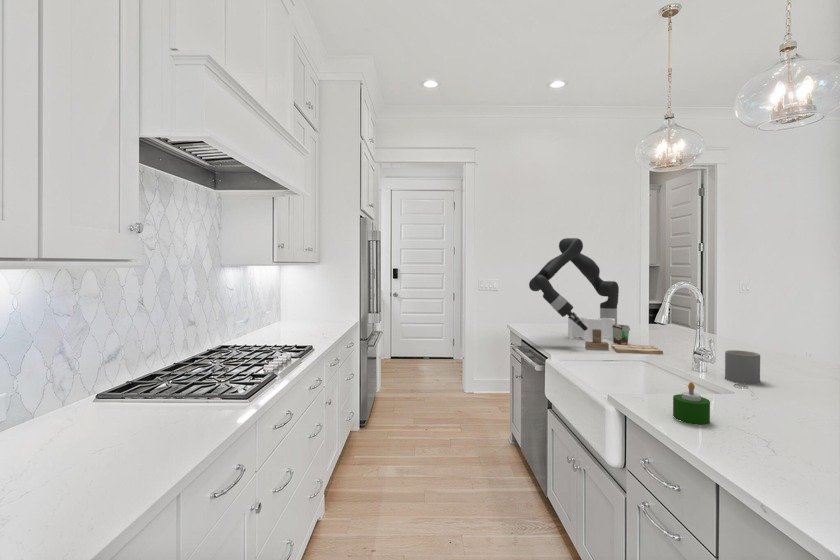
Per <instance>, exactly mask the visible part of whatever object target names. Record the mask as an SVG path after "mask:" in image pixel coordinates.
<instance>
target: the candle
mask: <svg viewBox="0 0 840 560" xmlns="http://www.w3.org/2000/svg"><path fill="white" fill-rule="evenodd" d="M687 387H688V391H682V392H681V393H680V394H673V397H672V417H673V416H674V417H675V418H676V419H678V420H681V421H683V422H682V423H684V422H686V423H685V424H689V423H690V424H689V425H695V424H697V425H698V426H702V425H703V426H705V424H706V425H709V424H710V423H711V400H709V399H708V398H706V397H703V396H702V395H701V394H700V393H696V392H695V384H694V383H693V382H692V381H690V382H689V383H688V385H687ZM674 417H673V418H674ZM675 418H674V419H675ZM676 419H675V420H676ZM678 420H677V421H678ZM681 421H680V422H681ZM697 425H696V426H697Z"/></svg>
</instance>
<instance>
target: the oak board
mask: <svg viewBox="0 0 840 560" xmlns="http://www.w3.org/2000/svg"><path fill="white" fill-rule="evenodd" d="M610 347H611V348H612V349H613V351H615V352H616V353H620V354H641V355H643V354H645V355H664V351H663V350H662V349H660V348H658V347H657V346H655V345H639V344H638V345H637V344H634V345H633V344H628V345H618V344H614V343H613V344H610Z"/></svg>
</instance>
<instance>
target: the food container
mask: <svg viewBox="0 0 840 560" xmlns="http://www.w3.org/2000/svg"><path fill="white" fill-rule="evenodd" d="M612 328H613V341H612V342H613V344H614V345H629V331H631V328H630V326H629V325H627V324H618V323H617V324H613V326H612Z"/></svg>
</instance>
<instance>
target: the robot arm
mask: <svg viewBox="0 0 840 560" xmlns="http://www.w3.org/2000/svg"><path fill="white" fill-rule="evenodd" d="M558 248H559V251H560V253H561V254H559V255H557V256H556V257H554V258H552V259H550V260H549V261H548V262H546V264H544V266H543V267H542V268H541V269H540V271H538V273H537V274H536V275H534V277H532V278H531V279H530V281H529V283H528V285H529V286H528V287H529V289H530V291H533V292H539V291H541V293H543V294H542V298H543V299H544V300H545V301H546V302H547V303H548V304H549V305H550V306H551V308H552V309H554V310H555V312H557V313H558V314H559V315H560V317H562V318H564V317H566V316H568V317H567V319H568V318H569V319H570V320H572V321H573V322H574V323H576V324H577V325H578V326H580V327H581V328H582V329H583V330H584V331H586V330H587V329H588V328H587V327H586V326H585V325H584V324H583V323H582V321H580V318H581V317H579V316H578V315H577V314H576V313H575V312H572V310H573V309H574V306H573V305H572V304H571V303H570V302H569V301H568V300H567V299H566V298H565V297H564V296H562V295H561V294H560V293H559V292H558V291H557V290H556V289H555V288H554V287H553V285H552V284H551V281H550V280H552V278H553V277H555V276H556V275H557V273H558V272H559V271H560V270H561V269H562V268H563V267H564V266H566V265H567V264H568V263H569V262H571V263H572V264H573V265H574V266H575V267H576V268H577V269H578V270H579V271H580V273H581V274H582V275H583V276H584V277H585V278H586V279H587V281H589V283H590V285H592V286H593V288H594V290H595V291H596V292H597V294H598V295H599V296H601V297H607V299H606V300H605V301H603V302H601V303H599V318H611V319H615V324H618V304H619V291H620V290H619V283H618V282H616V281H615V280H611V281H610V280H603V279H602V278H601V277H600V273H601V270H600V267H599V265H598V264H597V263H596V262H595V261H594V260H593V258H590V257H589V256H587V255H585V254H583V253H581V252H582V251H583V248H584V244H583V241H582V239H580V238H578V237H577V238H576V237H569V238H568V237H567V238H566V237H565V238H563V239H561V240H560V241H559V244H558Z"/></svg>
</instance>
